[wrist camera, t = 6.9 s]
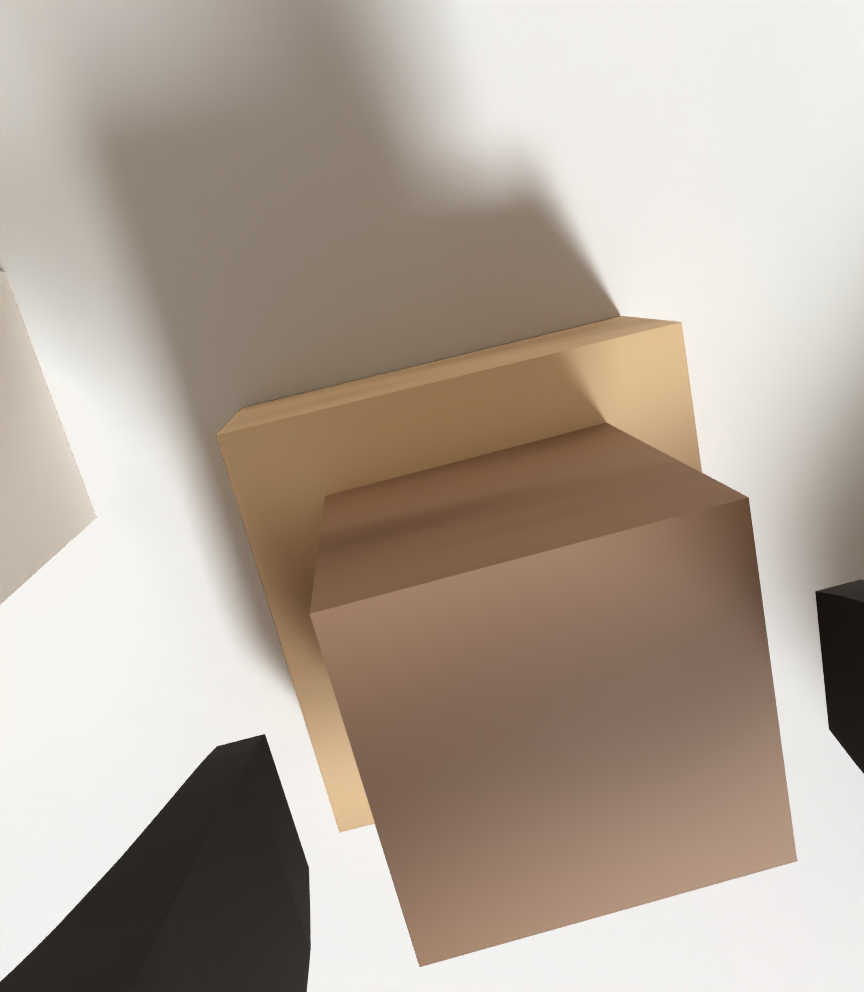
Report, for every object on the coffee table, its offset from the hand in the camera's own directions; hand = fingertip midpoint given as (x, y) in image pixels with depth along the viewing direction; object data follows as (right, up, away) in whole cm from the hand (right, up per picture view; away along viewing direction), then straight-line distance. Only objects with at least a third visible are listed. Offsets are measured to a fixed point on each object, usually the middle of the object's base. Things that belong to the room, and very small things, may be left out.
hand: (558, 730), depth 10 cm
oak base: (-1, +2, +7) cm, 7 cm away
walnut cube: (0, +1, +4) cm, 4 cm away
